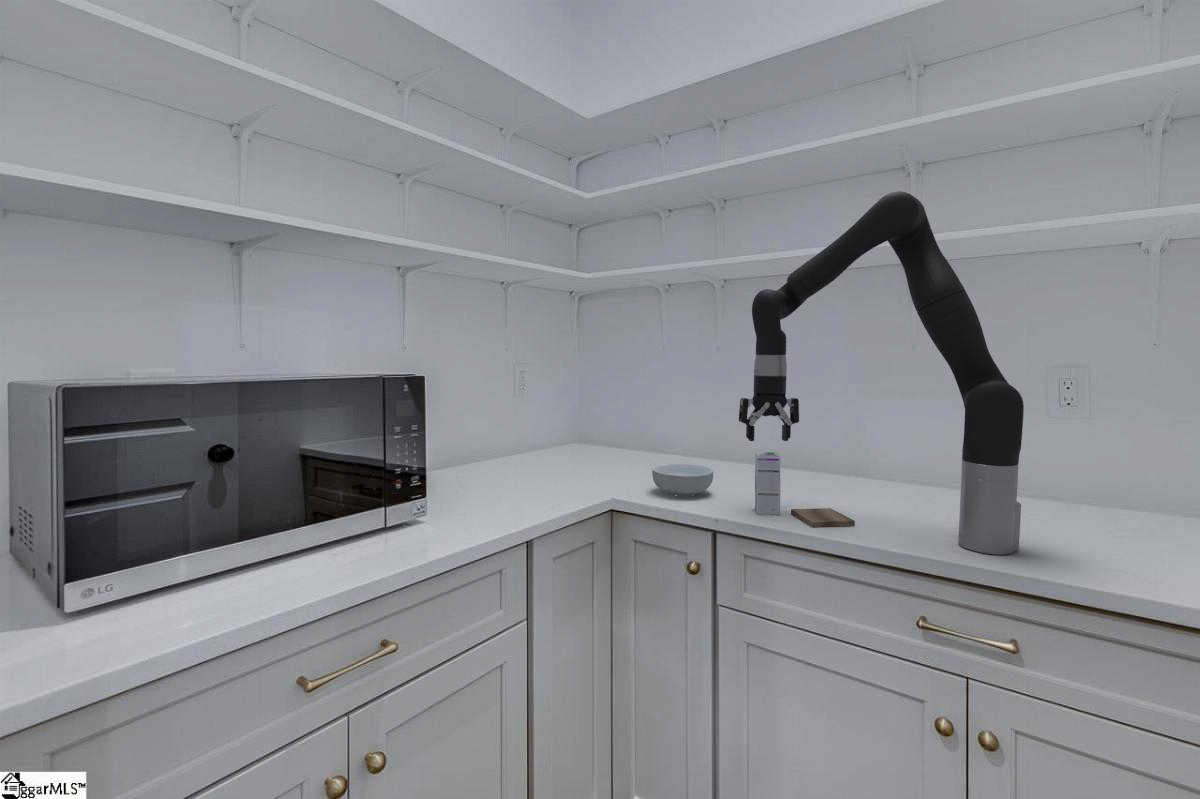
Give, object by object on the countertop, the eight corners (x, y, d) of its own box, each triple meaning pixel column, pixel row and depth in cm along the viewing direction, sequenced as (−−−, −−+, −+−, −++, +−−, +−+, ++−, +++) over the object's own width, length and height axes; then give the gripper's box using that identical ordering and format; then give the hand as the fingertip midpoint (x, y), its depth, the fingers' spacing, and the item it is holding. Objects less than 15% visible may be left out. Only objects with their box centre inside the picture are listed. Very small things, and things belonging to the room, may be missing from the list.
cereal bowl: (639, 493, 161) (639, 468, 160) (678, 484, 172) (678, 461, 171) (687, 504, 148) (687, 477, 147) (725, 494, 159) (725, 469, 159)
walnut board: (830, 512, 140) (830, 508, 139) (854, 526, 129) (854, 520, 129) (790, 514, 139) (790, 509, 138) (812, 527, 128) (812, 522, 128)
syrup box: (780, 515, 137) (782, 455, 136) (755, 514, 138) (756, 454, 137) (778, 509, 143) (779, 451, 142) (753, 508, 144) (754, 451, 143)
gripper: (747, 374, 134) (745, 443, 135) (805, 374, 135) (803, 442, 136) (736, 373, 141) (734, 438, 142) (791, 373, 142) (789, 438, 144)
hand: (768, 440), depth 139 cm, fingers open, 8 cm apart
